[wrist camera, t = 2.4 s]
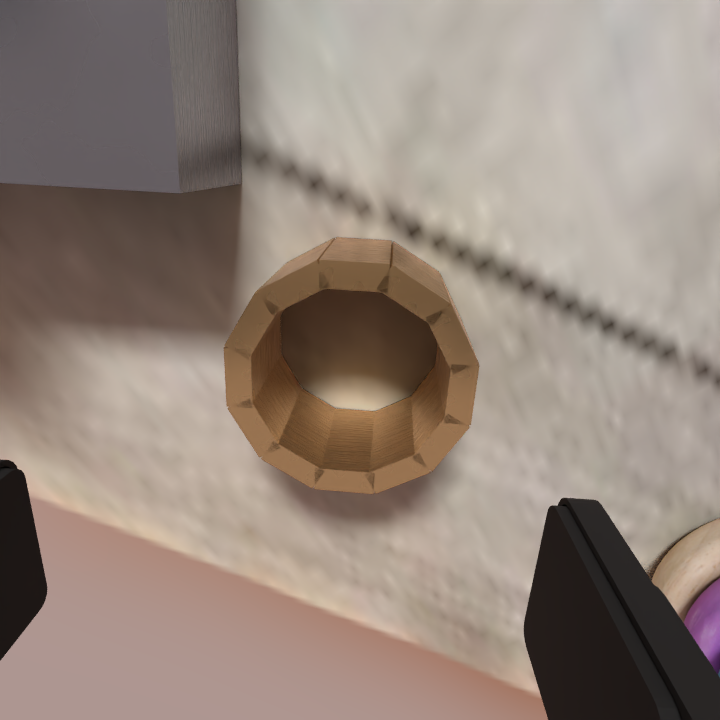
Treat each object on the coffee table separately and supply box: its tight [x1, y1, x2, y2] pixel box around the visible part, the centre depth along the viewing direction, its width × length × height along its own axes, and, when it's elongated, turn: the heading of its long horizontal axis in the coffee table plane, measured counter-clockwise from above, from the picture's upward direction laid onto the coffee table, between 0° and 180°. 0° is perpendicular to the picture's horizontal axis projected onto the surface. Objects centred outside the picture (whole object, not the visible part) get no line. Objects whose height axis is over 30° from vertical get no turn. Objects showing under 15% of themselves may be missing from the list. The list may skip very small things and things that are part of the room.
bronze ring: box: [224, 237, 479, 494], centre depth 16 cm, size 7×7×4 cm
